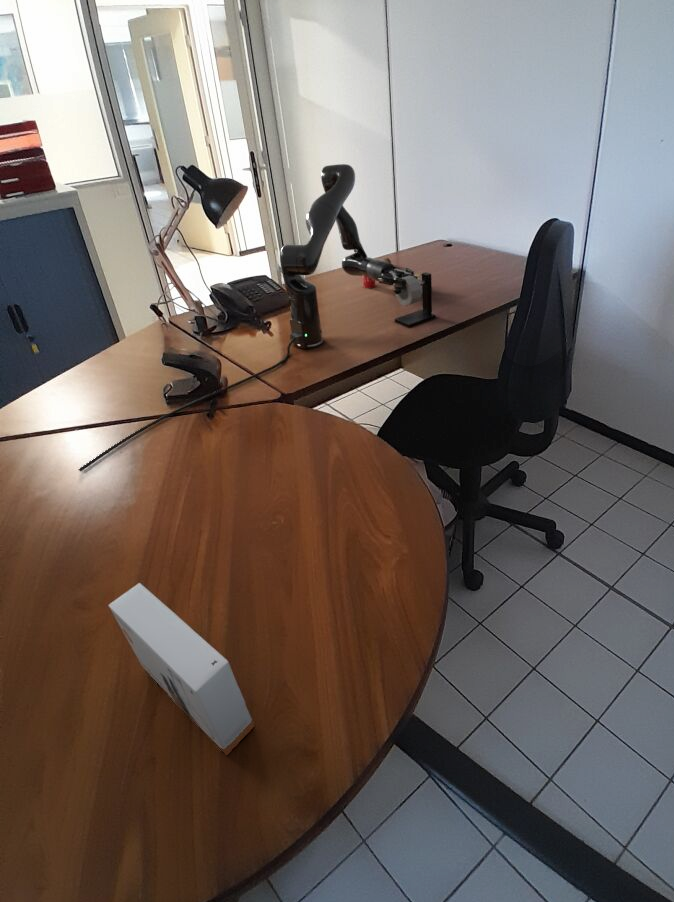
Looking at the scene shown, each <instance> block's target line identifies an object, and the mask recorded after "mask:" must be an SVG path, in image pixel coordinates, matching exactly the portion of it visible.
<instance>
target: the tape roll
mask: <svg viewBox="0 0 674 902" xmlns="http://www.w3.org/2000/svg"><path fill="white" fill-rule="evenodd" d="M402 279H405V280H406V288H407V290H406V291H403V292H401V293H400V294H395V293H394V295H395V298H396V300H397V301H398V303H399V304H400V305H402V306H404V307H408V306H410V305H413V304H416V303H418V302H420V301H421V298H422V289H421V286H420V283H419V281H418V280H417V279H416V278H415V277H414V276H411V275H409V276H406V277H402ZM393 286H394V287H393V288H394V289H395V288H396V287H403V286H402V285H399V284H397V285H396V284H395V285H394V284H393ZM394 289H393V290H394Z"/></svg>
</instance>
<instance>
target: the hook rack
mask: <svg viewBox="0 0 674 902" xmlns="http://www.w3.org/2000/svg"><path fill="white" fill-rule="evenodd" d="M421 275H422V281H419V283H420V286H422V296H421V298H422V309H419V310H417V311H414V312H411V313H408V314H405V315H402V316H399V317H397V318H394V323H397V324H399V325H402V326H404V327H406V328H409V329H410V328H412V327H415V326H417V325H420V324H423V323H425V322H428V321H431V320H434V319H436V318H437V317H436V314H434V313H433V292H432V291H433V290H432V288H433V287H432V284H433V283H432V273H429V272H422V273H421ZM406 290H407V288H406V286H403V287H396V288H395V289H393V292H394V295H395V294H400V293H401V292H403V291H406Z"/></svg>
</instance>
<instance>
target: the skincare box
mask: <svg viewBox="0 0 674 902" xmlns="http://www.w3.org/2000/svg"><path fill="white" fill-rule="evenodd" d="M108 607H109V609H110V611H111V613H112V614H113V616H114V618H115V620H116V622H117V623H118V625H119V627H120V629H121V631H122V632H123V634H124V636H125V638H126V641H128V643H129V645H130V647H131V648H132V651H133V652H134V654H135V657H136V658H137V660H138V662H139V663H140V665H141V667H142V666H143V667H142V669H143V668H144V669H145V670H146V671H147V672H148V673H149V674H150V676H151V677H152V678H153V679H154V680H155V681H156V682H157V683H158V684H159V685H160V686H161V687H162V688H163V689H164V690H165V691H166V692H167V693H168V695H169V696H170V697H171V698H172V699H173V700H174V701H175V702H176V703H177V704H178V705H179V706H180V707H181V708H182V709H183V710H184V711H185V712H186V713H187V714H188V715H189V716H190V717H191V718H192V719H193V720H194V721H195V722H196V724H197V725H198V726H199V727H200V728H201V729H202V730H203V731H204V732H205V733H206V734H207V735H208V736H209V737H210V738H211V739H212V740H213V741H214V742H215V743H216V744H217V745H218V746H219V747H220V748H222V749H225V748H226V747H227V746H228V745H230V744H231V743H232V742H233V741H234V740H235V739H236V737H238V736H239V734H240V733H241V732H243V730H244V729H245V728H246V727H247V726H248V725H249V724H250V723H251V721H252V720H253V717H252V716H251V714H250V712H249V709H248V707H247V705H246V700H245V699H244V696H243V693H242V691H241V689H240V687H239V685H238V683H237V679H236V677H235V675H234V673H233V670H232V667H231V664H230V662H229V661H228V660H227V658H226V657H224V656H223V655H222V654H221V653H220V652H219V651H217V650H216V649H215V648H214V647H213V646H211V645H210V644H209V642H207V641H206V639H205V638H203V637H201V635H200V634H198V633H197V632H196V631H195V630H193V628H191V626H190V625H188V624H187V623H186V622H185V621H184V620H183V619H182V618H180V617H179V616H178V615H177V614H176V613H175V612H173V610H171V609H170V608H169V607H168V606H167V605H166V604H165V603H163V602H162V601H161V600H160V599H159V598H158V597H156V595H155V594H153V593H152V592H151V591H150V590H149V589H147V588H146V587H145V586H144V584H142V583H140V582H138V583H137V584H136V585H134V586H133V587H132V588H130V589H128V590H126V591H125V592H124V593H123V594H121V595H120V596H119V597H117V598H116V599H115V600H113V601H112V602H110V603H109V604H108ZM144 669H143V670H144ZM150 676H149V677H150ZM151 677H150V678H151ZM152 678H151V679H152ZM153 679H152V680H153ZM154 680H153V681H154ZM155 681H154V682H155ZM156 682H155V683H156ZM157 683H156V684H157ZM168 695H167V696H168ZM169 696H168V697H169ZM170 697H169V698H170ZM171 698H170V699H171ZM172 699H171V700H172ZM173 700H172V701H173ZM174 701H173V702H174ZM175 702H174V703H175ZM176 703H175V704H176ZM177 704H176V705H177ZM178 705H177V706H178ZM196 724H195V725H196ZM197 725H196V726H197ZM198 726H197V727H198ZM199 727H198V728H199Z"/></svg>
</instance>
